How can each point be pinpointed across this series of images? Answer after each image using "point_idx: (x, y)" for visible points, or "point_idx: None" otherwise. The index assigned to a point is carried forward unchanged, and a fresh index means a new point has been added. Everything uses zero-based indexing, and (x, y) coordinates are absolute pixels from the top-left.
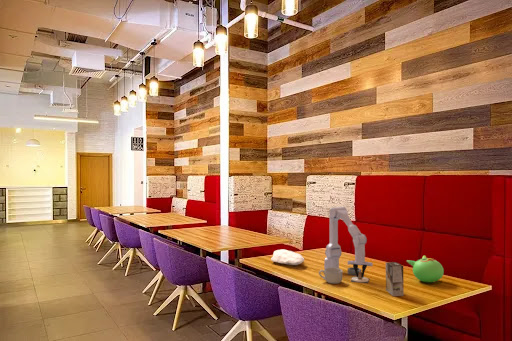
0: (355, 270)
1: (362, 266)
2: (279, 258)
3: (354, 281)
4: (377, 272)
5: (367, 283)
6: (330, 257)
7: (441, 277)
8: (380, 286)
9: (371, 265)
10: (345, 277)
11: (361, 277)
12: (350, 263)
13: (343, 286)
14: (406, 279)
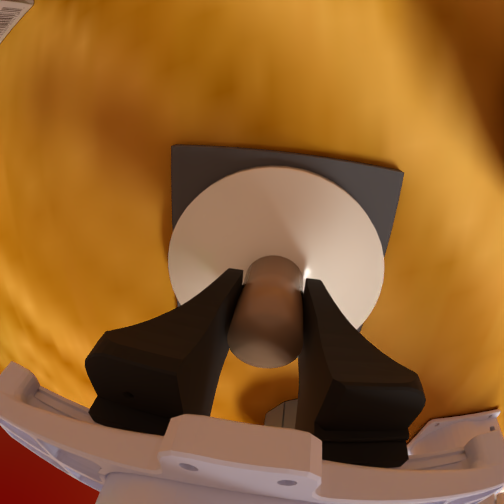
0: (354, 336)
1: (168, 387)
2: None
3: (352, 194)
4: None
5: (176, 146)
6: (498, 499)
7: None
8: (59, 116)
9: (8, 375)
10: (414, 351)
11: (251, 274)
12: (450, 466)
13: (465, 6)
14: (11, 338)
